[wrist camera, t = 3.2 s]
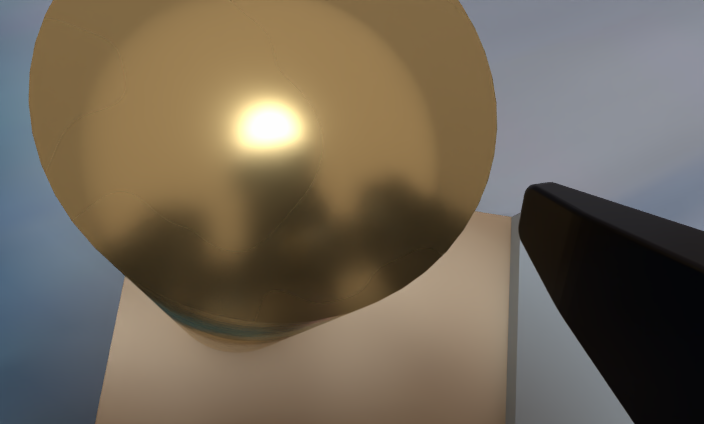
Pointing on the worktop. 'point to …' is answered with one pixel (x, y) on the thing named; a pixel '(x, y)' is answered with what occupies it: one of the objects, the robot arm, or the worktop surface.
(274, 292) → the tall brass spacer
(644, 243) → the robot arm
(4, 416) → the worktop surface
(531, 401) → the grey flat square plate
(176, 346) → the board
